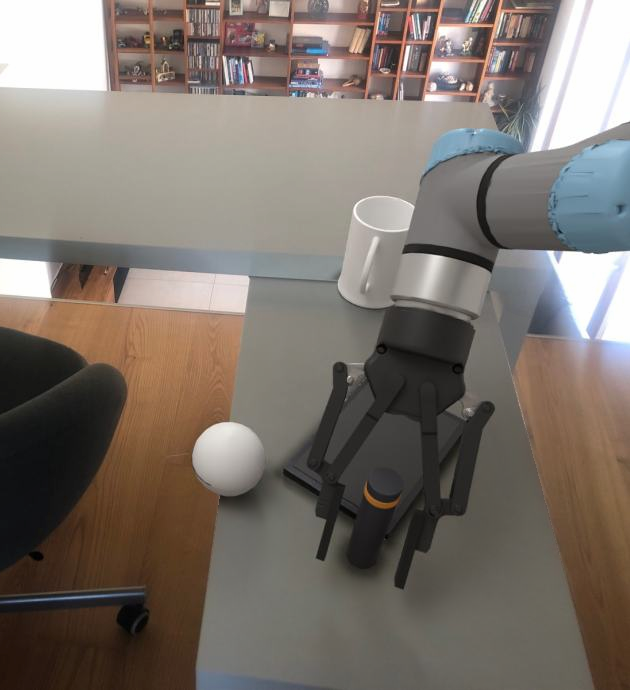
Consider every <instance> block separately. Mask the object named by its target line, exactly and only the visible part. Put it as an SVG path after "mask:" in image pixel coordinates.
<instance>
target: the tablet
mask: <svg viewBox="0 0 630 690" xmlns="http://www.w3.org/2000/svg"><path fill="white" fill-rule="evenodd" d="M374 401H375V399H374V396H373V394H372V391H371V389H370V386H369V384H368V381H367V379H366V377H365V378H364V379H362V381H361V382H360V383H359V385H357V387H356V388H355V389H353V391H352V392H351V393H350V394H349V395H348V396H347V397H346V398H345V401H344V404H343V407H342V409H341V412H340V415H339V418H338V421H337V423H336V426H335V429H334V432H333V434H332V437H331V440H330V443H329V446H328V448H327V451H326V454H325V457H324V460H326V461H327V462H328V463H330V464H332V463H333V461H334V460H335V458H336V457H337V455H338V454H339V452H340V451H341V449H342V448H343V446H344V445H345V443H346V442H347V441H348V439H349V438H350V436H351V435H352V433H353V432H354V430H355V429H356V427H357V426H358V424H359V423H360V421H361V420H362V418H363V417H364V415H365V414H366V413H367V411H368V410H369V408H370V407H371V405H372V404H373V402H374ZM465 422H466V419H463V418H461V417H459V416H457V415H456V414H453V413H452V412H450V411H448V410H447V409H446V410H445V411H443V412H442V413H441V414H439V415H438V416H437V428H438V434H437V436H438V454H439V468H440V467H441V466H442V464H443V463H444V461H445V460H446V458H447V457H448V456H449V454H450V453H451V452H452V450H453V449H454V447H455V446H456V445H457V443H458V442H459V441H460V440H461V437H462V432H463V428H464V424H465ZM317 431H318V429H317V430H316V431H315V432H314V434H313V435H312V436H311V437H310V438H309V439H308V440H307V441H306V442H305V444H303V445H302V447H301V448H300V449H299V450H298V451H297V452H296V453H295V454H294V455H293V457H292V458H290V460H289V461H288V462H287V463H286V464H285V465H284V466H283V469H282V474H283V475H285V476H287V477H288V478H290V479H291V480H293V481H294V482H296V483H297V484H299V485H301V487H304V488H305V489H306V490H308V491H310V492H311V493H313V494H314V495H316V496H317V497H319V494H320V491H321V487H322V478H321V477H320V476H319V475H318V474H317V473H316V472H314V471H313V470H311V469H309V468H308V467H307V464H306V463H307V459H308V456H309V453H310V450H311V448H312V445H313V442H314V439H315V437H316V434H317ZM380 467H386V468H390V469H392V470H394V471H396V472H397V473H398V474H399V475H400V476H401V478H402V480H403V489H402V492H401V496H400V499H399V502H398V503H397V505H396V508H395V511H394V514H393V516H392V519H391V522H390V525H389V527H388V530H387V533H386V536H385V538H384V540H388V539H389V537H390V536H391V534H392V533H393V532H394V530H395V529H396V527H397V526H398V525H399V524H400V523H401V521H402V520H403V518H404V516H405V515H407V512H409V510H410V508H411V507H412V506H413V504H414V503H415V501H416V500H417V498H418V497H419V496H420V494H421V493H422V492H423V491H424V485H423V466H422V448H421V431H420V422H417V421H413V420H411V419H409V418H408V417H406V416H404V415H392V414H389V413H385V412H384V414H383V415H382V417H381V418H380V420H379V421H378V422H377V424H376V425H375V427H374V428H373V430H372V431H371V433H370V434H369V436H368V437H367V438H366V440H365V441H364V443H363V444H362V446H361V447H360V449H359V450H358V452H357V453H356V455H355V456H354V457H353V459H352V460H351V462H350V463H349V465H348V466H347V468H346V469H345V471H344V472H343V474H342V475H341V477H340V478H339V481H338V483H341V484H344V485H346V486H345V490H344V494H343V497H342V501H341V504H340V508H339V511H341V512H342V513H344V514H346V515H347V516H348V517H350V518H352V519H353V520H354V521H355V520H356V517H357V514H358V510H359V507H360V504H361V500H362V497H363V494H364V488H365V485H366V482H367V480H368V477H369V474H370V472H371V471H372V470H374V469H376V468H380Z"/></svg>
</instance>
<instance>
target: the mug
mask: <svg viewBox="0 0 630 690" xmlns="http://www.w3.org/2000/svg"><path fill="white" fill-rule="evenodd" d="M414 207H415V205H413V204H411V203H410V202H408V201H406V200H404V199H401V198H398V197H395V196H387V195H374V196H369V197H365V198H363V199H361V200H359V201H357V203H356V204H355V205H354V207H353V209H352V214H351V220H350V226H349V231H348V237H347V242H346V247H345V252H344V257H343V263H342V268H341V273H340V275H339V277H338V280H337V289H338V292H339V293H340V295H341V296H342V297H343V299H344V300H346V301H348V302H349V303H351V304H353V305H355V306H358V307H361V308H364V309H373V310H375V309H376V310H377V309H387V308H389V307H390V306H394V305H395V302H394V301H392V300H391V298H390V292H391V289H392V285H393V282H394V278H395V275H396V271H397V267H398V264H399V260H400V257H401V255H402V251H403V248H404V245H405V241H406V237H407V233H408V230H409V226H410V222H411V219H412V215H413V211H414Z"/></svg>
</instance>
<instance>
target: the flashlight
mask: <svg viewBox="0 0 630 690" xmlns="http://www.w3.org/2000/svg"><path fill="white" fill-rule="evenodd" d="M402 489H403V480H402V478H401V476H400V475H399V474H398V473H397V472H396V471H394V470H392V469H390V468H386V467H380V468H376V469H374V470H372V471H371V472H370V474H369V477H368V480H367V482H366V485H365V488H364V494H363V497H362V500H361V504H360V507H359V510H358V514H357V517H356V520H355V519H354V524H353V528H352V531H351V534H350V537H349V540H348V544H347V547H346V551H345V556H346V560H347V561H348V563H350V565H352V566H353V567H355V568H357V569H360V570H368V569H372V567H374V566H375V565H376V563H377V560H378V557H379V555H380V552H381V549H382V547H383V544H384V541H385V536H386V533H387V530H388V527H389V525H390V522H391V519H392V516H393V514H394V511H395V508H396V505H397V503H398V502H399V499H400V496H401V492H402Z"/></svg>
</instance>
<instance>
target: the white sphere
mask: <svg viewBox="0 0 630 690" xmlns="http://www.w3.org/2000/svg"><path fill="white" fill-rule="evenodd" d="M189 454H190V453H186V455H189ZM182 455H184V453H181V454H179V456H182ZM176 456H178V454H173V455H172V457H176ZM167 457H170V455H167V456H165V458H167ZM266 463H267V461H266V455H265V448H264V444H263V443H262V441H261V439H260V438H259V436H257V434H256V433H255V432H254V431H253V430H252V429H251V428H249V427H248V426H246V425H244V424H242V423H238V422H233V421H223V422H219V423H215V424H213V425H211V426H210V427H208V428H207V429H205V430H204V431H203V432H202V433H201V435H200V436H199V437H198V438H197V439H196V442H195V444H194V447H193V449H192V452H191V465H192V469H193V471H194V474H195V476H196V478H197V480H198V481H199V482H200V483H201V484H202V485H203V486H204V487H205V488H206V489H207V490H209V491H210V492H212V493H213V494H216V495H219V496H223V497H236V496H239V495H243V494H245V493H247V492H248V491H250V490H251V489H253V488H254V487H256V485H257V484H258V483H259V481H260V480H261V478H262V476H263V474H264V472H265V471H264V470H265V467H266Z"/></svg>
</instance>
